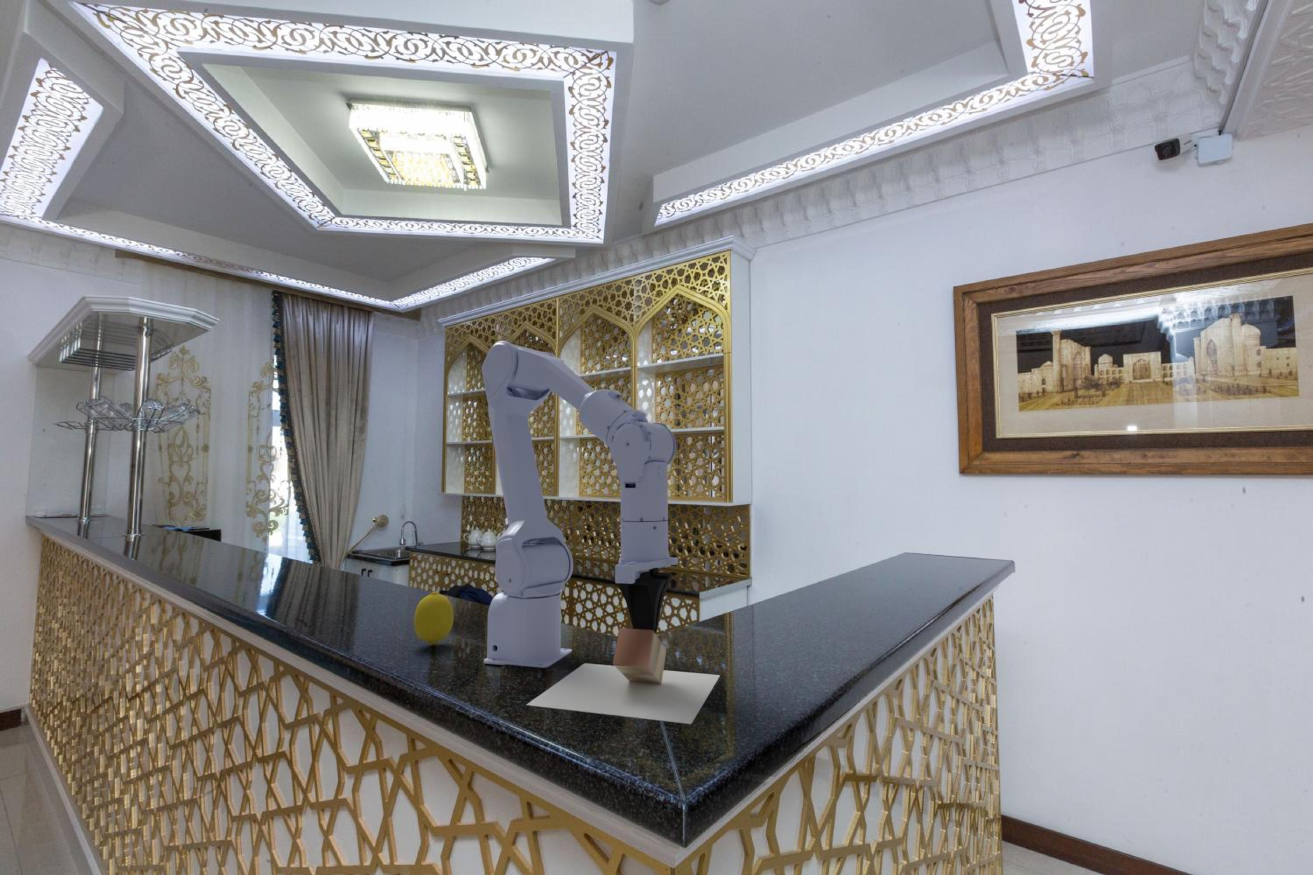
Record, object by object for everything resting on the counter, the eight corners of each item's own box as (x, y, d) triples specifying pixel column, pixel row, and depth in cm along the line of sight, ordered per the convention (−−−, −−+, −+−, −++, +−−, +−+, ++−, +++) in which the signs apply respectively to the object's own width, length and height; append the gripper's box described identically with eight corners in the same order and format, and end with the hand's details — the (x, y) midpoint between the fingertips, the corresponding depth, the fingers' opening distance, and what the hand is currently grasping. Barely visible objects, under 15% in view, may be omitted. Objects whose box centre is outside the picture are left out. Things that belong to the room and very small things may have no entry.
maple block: (629, 681, 68) (612, 663, 63) (635, 647, 70) (619, 627, 65) (661, 684, 67) (647, 666, 62) (666, 649, 69) (652, 630, 64)
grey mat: (526, 708, 61) (526, 704, 61) (584, 666, 75) (584, 663, 75) (691, 727, 55) (691, 723, 55) (720, 678, 70) (720, 675, 70)
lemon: (449, 639, 89) (450, 587, 90) (455, 647, 84) (456, 592, 85) (411, 644, 86) (412, 590, 87) (415, 653, 82) (416, 596, 82)
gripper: (658, 524, 61) (660, 655, 60) (690, 517, 75) (692, 624, 73) (597, 524, 63) (597, 651, 62) (639, 517, 77) (640, 621, 75)
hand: (645, 636), depth 68 cm, fingers closed
